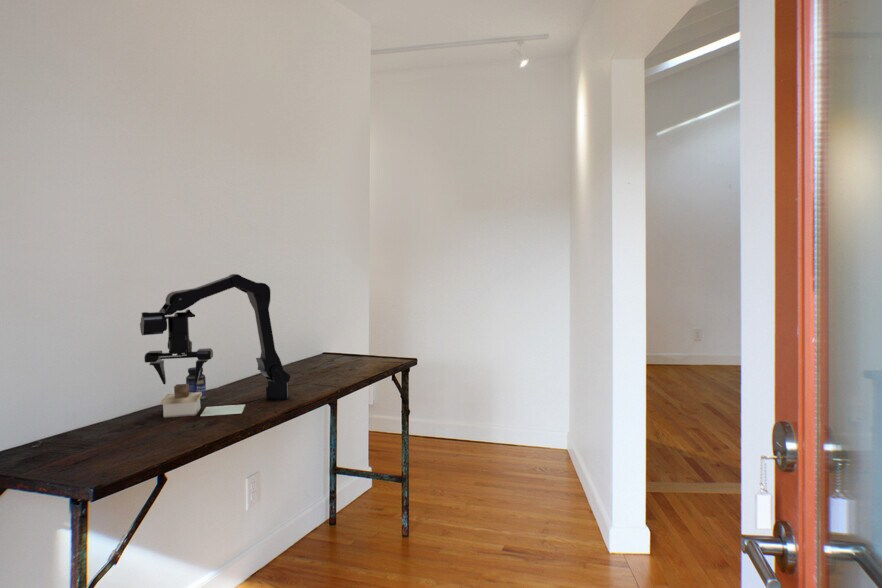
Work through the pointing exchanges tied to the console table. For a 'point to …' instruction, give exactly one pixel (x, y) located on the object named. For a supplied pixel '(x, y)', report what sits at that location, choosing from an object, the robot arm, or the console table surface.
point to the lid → (181, 395)
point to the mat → (223, 410)
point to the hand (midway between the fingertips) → (180, 383)
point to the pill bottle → (194, 386)
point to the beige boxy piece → (181, 409)
